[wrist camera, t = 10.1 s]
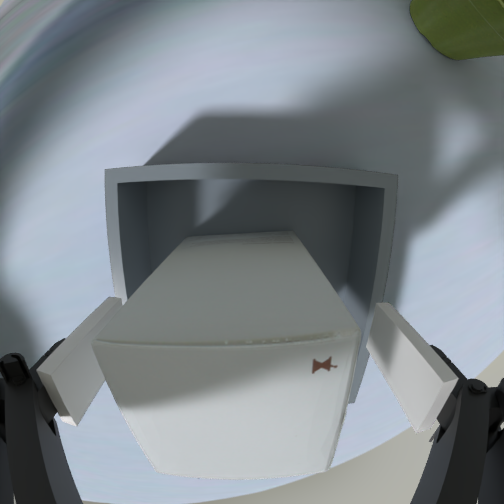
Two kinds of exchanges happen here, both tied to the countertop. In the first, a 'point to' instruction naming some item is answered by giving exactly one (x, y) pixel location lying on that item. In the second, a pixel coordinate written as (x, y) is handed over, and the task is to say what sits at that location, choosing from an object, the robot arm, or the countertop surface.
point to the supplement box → (233, 359)
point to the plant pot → (461, 26)
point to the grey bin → (258, 222)
